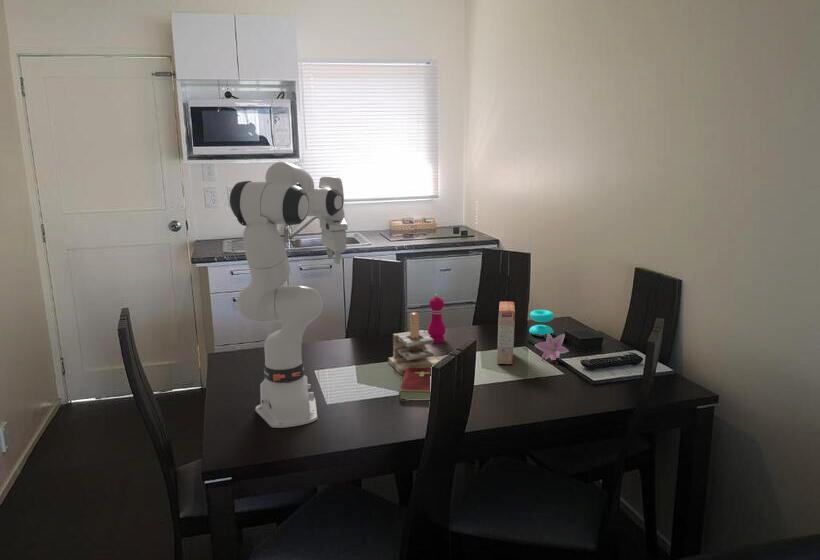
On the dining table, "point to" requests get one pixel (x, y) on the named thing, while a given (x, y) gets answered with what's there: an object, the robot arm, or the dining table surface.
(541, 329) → the donuts
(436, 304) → the pepper mill
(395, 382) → the dining table surface
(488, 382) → the dining table surface
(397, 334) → the collar stand
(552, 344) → the lily
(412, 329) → the copper tube
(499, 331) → the cracker box
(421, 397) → the hardcover book
